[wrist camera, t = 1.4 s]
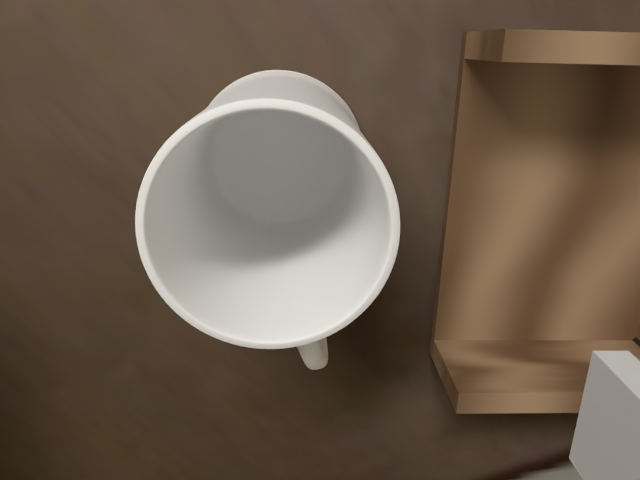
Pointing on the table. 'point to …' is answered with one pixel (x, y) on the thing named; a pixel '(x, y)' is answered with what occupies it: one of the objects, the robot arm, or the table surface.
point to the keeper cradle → (539, 218)
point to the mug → (269, 216)
